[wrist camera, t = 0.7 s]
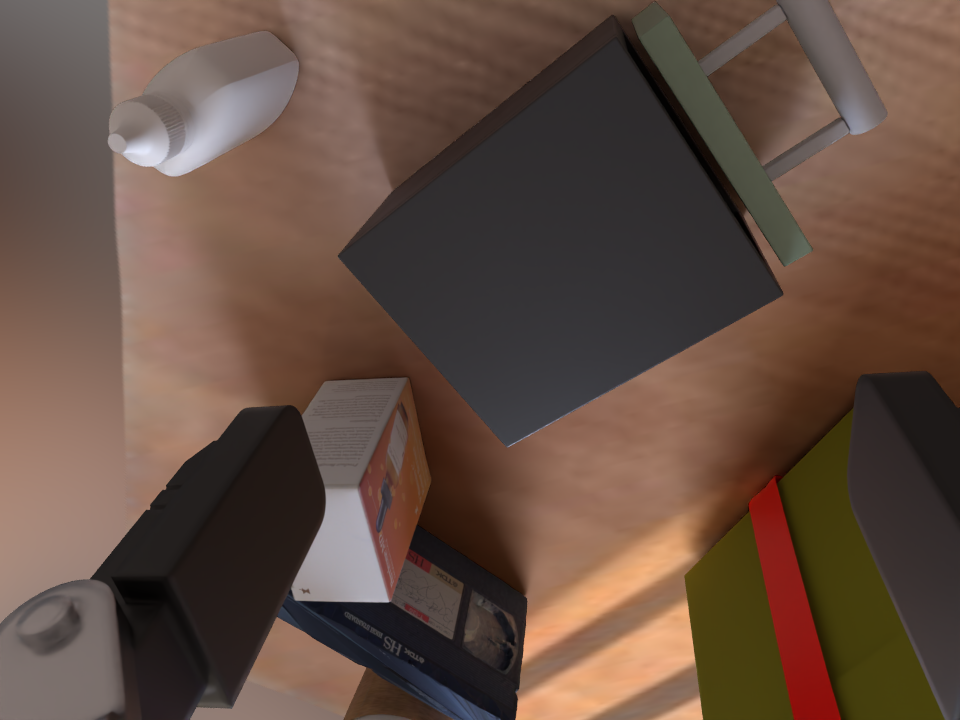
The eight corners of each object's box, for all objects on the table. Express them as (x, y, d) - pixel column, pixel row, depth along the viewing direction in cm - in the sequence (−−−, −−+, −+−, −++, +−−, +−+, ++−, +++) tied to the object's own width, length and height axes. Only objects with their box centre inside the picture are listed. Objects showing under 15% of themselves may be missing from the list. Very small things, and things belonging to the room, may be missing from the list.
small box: (433, 479, 47) (392, 607, 38) (351, 480, 48) (293, 605, 39) (410, 373, 43) (359, 487, 34) (322, 377, 44) (250, 488, 35)
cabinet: (612, 14, 32) (616, 35, 24) (744, 218, 36) (784, 295, 28) (391, 191, 37) (336, 256, 30) (524, 353, 41) (506, 448, 33)
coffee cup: (495, 598, 51) (460, 816, 38) (473, 671, 56) (434, 889, 43) (381, 569, 52) (308, 776, 39) (368, 644, 56) (298, 852, 43)
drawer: (757, -81, 29) (801, -89, 22) (874, 133, 32) (940, 178, 26) (435, 174, 36) (400, 222, 29) (557, 328, 39) (549, 401, 33)
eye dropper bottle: (188, 60, 36) (20, 106, 25) (286, 21, 34) (149, 54, 24) (229, 145, 38) (88, 221, 27) (323, 113, 36) (212, 180, 26)
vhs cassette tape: (531, 598, 51) (517, 730, 42) (505, 618, 52) (486, 749, 44) (316, 451, 47) (253, 563, 38) (294, 477, 48) (228, 590, 40)
